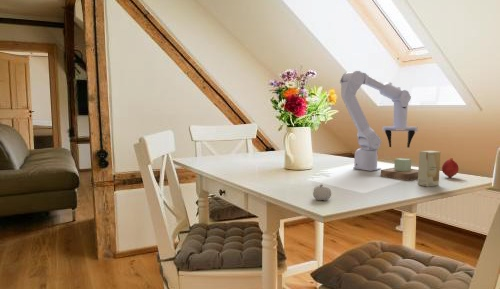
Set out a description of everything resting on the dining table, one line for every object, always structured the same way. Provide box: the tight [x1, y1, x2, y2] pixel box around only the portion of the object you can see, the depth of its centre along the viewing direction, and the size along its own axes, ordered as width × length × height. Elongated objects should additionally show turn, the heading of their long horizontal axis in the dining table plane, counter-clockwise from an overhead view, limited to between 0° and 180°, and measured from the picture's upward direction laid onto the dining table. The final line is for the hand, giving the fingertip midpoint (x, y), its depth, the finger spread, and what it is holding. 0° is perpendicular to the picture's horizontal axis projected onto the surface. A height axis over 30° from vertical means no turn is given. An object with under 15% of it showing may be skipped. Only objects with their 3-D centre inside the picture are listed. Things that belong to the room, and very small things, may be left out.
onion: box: [441, 157, 460, 179], centre depth 154 cm, size 6×6×8 cm
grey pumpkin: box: [312, 183, 332, 201], centre depth 120 cm, size 6×5×5 cm
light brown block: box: [380, 167, 419, 181], centre depth 158 cm, size 12×12×2 cm
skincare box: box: [417, 150, 442, 188], centre depth 140 cm, size 6×4×12 cm
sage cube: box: [393, 157, 412, 172], centre depth 157 cm, size 4×4×4 cm
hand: (399, 147), depth 178 cm, fingers open, 7 cm apart
